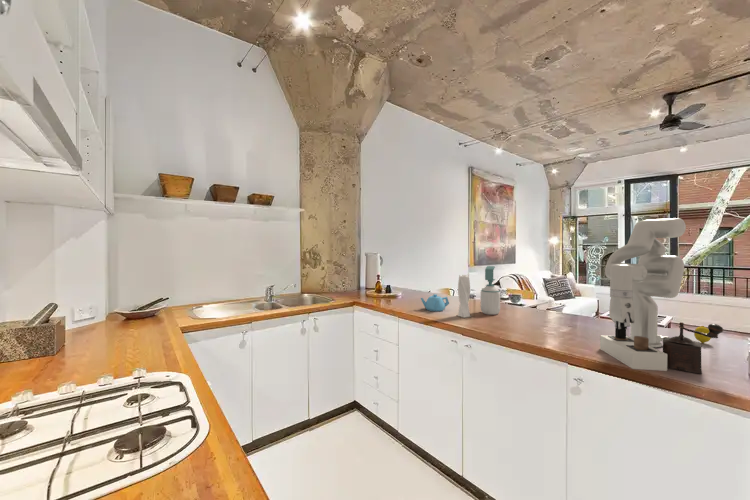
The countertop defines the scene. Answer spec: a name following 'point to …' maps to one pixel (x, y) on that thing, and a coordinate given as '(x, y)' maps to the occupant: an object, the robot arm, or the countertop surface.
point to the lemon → (702, 337)
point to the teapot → (435, 303)
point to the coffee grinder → (687, 349)
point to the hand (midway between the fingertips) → (620, 338)
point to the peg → (641, 343)
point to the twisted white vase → (464, 296)
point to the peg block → (633, 354)
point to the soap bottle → (490, 294)
